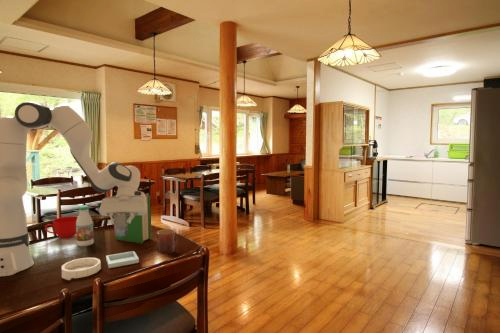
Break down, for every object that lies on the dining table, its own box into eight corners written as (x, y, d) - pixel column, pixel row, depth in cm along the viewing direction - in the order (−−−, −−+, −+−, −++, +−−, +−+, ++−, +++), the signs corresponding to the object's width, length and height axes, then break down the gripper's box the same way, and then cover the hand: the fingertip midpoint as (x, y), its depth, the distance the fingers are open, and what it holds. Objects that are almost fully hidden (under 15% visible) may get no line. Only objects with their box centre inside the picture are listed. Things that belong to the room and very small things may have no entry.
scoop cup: (115, 237, 135) (114, 215, 134) (114, 233, 139) (113, 212, 138) (128, 235, 137) (127, 213, 137) (126, 232, 142) (125, 211, 141)
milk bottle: (75, 243, 164) (73, 206, 162) (91, 240, 169) (89, 204, 167) (79, 247, 158) (77, 208, 156) (95, 244, 163) (93, 206, 161)
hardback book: (151, 239, 172) (149, 195, 170) (141, 243, 165) (140, 198, 163) (125, 235, 178) (124, 193, 176) (115, 239, 171) (114, 195, 169)
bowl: (61, 283, 120) (61, 274, 120) (62, 269, 132) (61, 261, 132) (102, 275, 127) (101, 266, 126) (99, 263, 139) (98, 255, 139)
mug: (179, 252, 152) (179, 231, 151) (163, 257, 146) (162, 235, 145) (166, 246, 161) (166, 226, 160) (150, 250, 154) (149, 230, 154)
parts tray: (109, 269, 132) (108, 264, 132) (106, 261, 141) (106, 255, 141) (138, 264, 138) (138, 258, 138) (134, 256, 147) (134, 250, 147)
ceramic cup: (42, 238, 173) (41, 220, 172) (76, 231, 185) (75, 215, 184) (49, 244, 164) (48, 225, 163) (83, 236, 176) (83, 219, 175)
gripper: (101, 193, 143) (93, 219, 134) (147, 192, 145) (142, 218, 136) (105, 200, 148) (97, 227, 139) (149, 200, 149) (145, 226, 141)
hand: (120, 223), depth 137 cm, fingers closed on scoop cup, 5 cm apart
